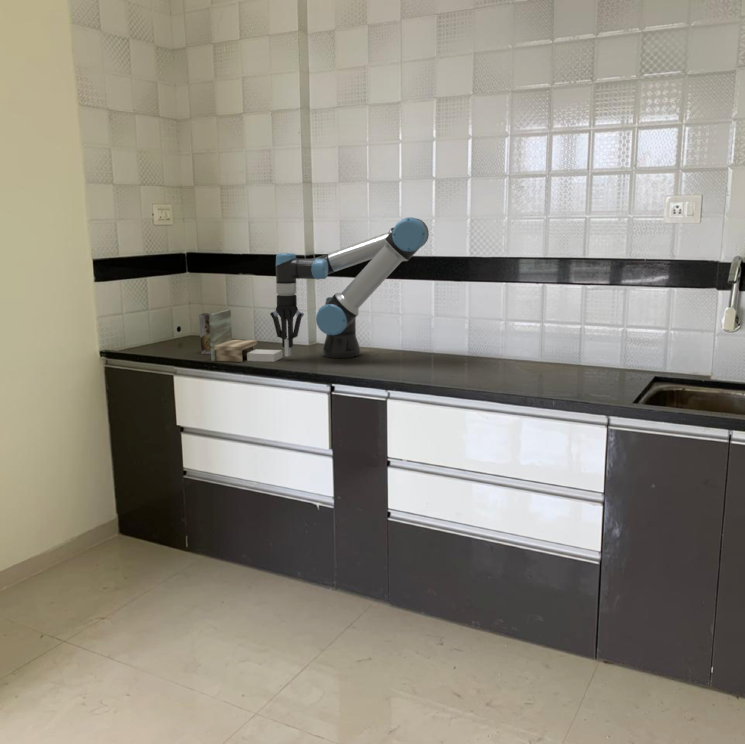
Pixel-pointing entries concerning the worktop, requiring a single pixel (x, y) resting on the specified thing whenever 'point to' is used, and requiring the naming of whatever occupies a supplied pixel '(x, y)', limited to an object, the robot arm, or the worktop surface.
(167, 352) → the worktop surface
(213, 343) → the upright marbled panel
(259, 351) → the flat white block
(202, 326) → the coffee box
